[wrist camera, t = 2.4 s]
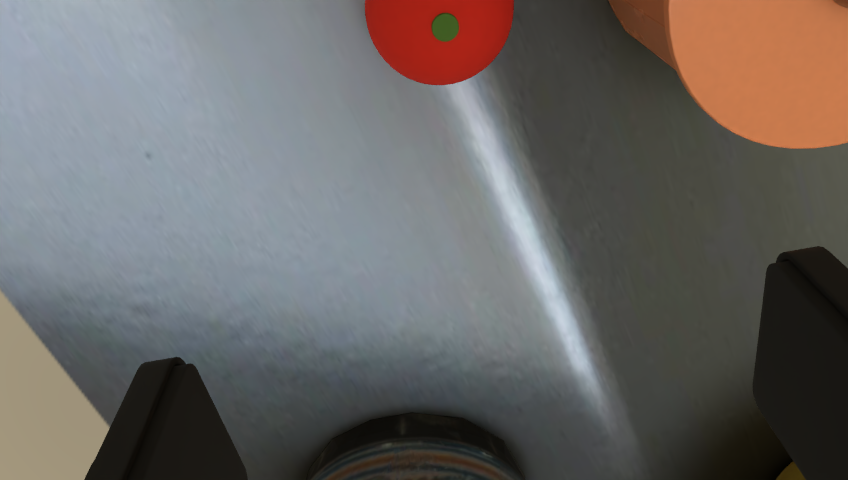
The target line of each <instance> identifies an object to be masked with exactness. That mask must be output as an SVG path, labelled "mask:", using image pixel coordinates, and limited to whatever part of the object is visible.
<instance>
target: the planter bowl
mask: <svg viewBox="0 0 848 480" xmlns="http://www.w3.org/2000/svg"><path fill="white" fill-rule="evenodd" d="M776 480H806V479H805V478H804V476H803V475H802V473H801V472H800V470H799V469H798V467H797V466H796V464H795V463H794V461H793V462H792V463H790V464H789V465H788V466H787V467H786V468H785V469H784V470H783V471H782V472H781V474H780V475H779V476H778V477H777V479H776Z"/></svg>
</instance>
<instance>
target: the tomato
mask: <svg viewBox="0 0 848 480" xmlns="http://www.w3.org/2000/svg"><path fill="white" fill-rule="evenodd" d="M513 10H514V0H365V16H366V22H367V27H368V30H369V34H370V37H371V39H372V41H373V43H374V45H375V47H376V49H377V50H378V52H379V54H380V55H381V56H382V57H383V59H384V60H385V61H386V62H387V63H388V64H389V65H390V66H391V67H392V68H393V69H395V70H396V71H397V72H399V73H400V74H402V75H403V76H405V77H407V78H409V79H411V80H414V81H416V82H420V83H424V84H430V85H447V84H453V83H457V82H461V81H464V80H466V79H468V78H471V77H472V76H474V75H476V74H478V73H479V72H480V71H482V70H483V69H484V68H486V67H487V66H488V65H489V64H490V63H491V62H492V61H493V60H494V59H495V57H496V56H497V55H498V54H499V52H500V51H501V49H502V47H503V46H504V44H505V42H506V40H507V37H508V35H509V32H510V29H511V24H512V19H513Z"/></svg>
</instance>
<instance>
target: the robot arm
mask: <svg viewBox="0 0 848 480" xmlns="http://www.w3.org/2000/svg"><path fill="white" fill-rule="evenodd" d="M753 394H754V398H755V401H756V404H757V406H758V408H759V410H760V411H761V413H762V414H763V416H764V417H765V419H766V420H767V422H768V423H769V425H770V426H771V428H772V429H773V431H774V432H775V434H776V435H777V437H778V438H779V440H780V441H781V443H782V445H783V446H784V448H785V449H786V451H787V452H788V454H789V455H790V457H791V458H792V460H793V461H794V463H795V464H796V466H797V467H798V469H799V470H800V472H801V473H802V475H803V476H804V478H805V479H806V480H848V268H847V267H845V266H844V265H843V264H842V263H841V262H840V261H839V260H838V259H837V258H836V257H835V256H833V255H832V254H831V253H830V252H829V251H828V250H827V249H825V248H824V247H819V246H817V247H811V248H806V249H800V250H794V251H788V252H783V253H781V254H780V255H779V256H778V258H777V261H776V263H773V264H770V265H769V266H768V268H767V272H766V279H765V287H764V296H763V304H762V312H761V321H760V329H759V337H758V346H757V354H756V362H755V371H754V379H753ZM85 480H248V478H247V472H246V469H245V467H244V465H243V463H242V461H241V459H240V456H239V454H238V452H237V450H236V448H235V446H234V444H233V442H232V440H231V438H230V436H229V434H228V432H227V430H226V428H225V426H224V424H223V422H222V420H221V418H220V416H219V413H218V411H217V409H216V407H215V405H214V403H213V401H212V399H211V397H210V395H209V393H208V391H207V389H206V387H205V385H204V383H203V381H202V379H201V377H200V375H199V373H198V370H197V369H196V367H195V366H194V365H193V364H185V362H184V361H183V360H182V359H181V358H180V357H174V358H168V359H162V360H156V361H151V362H145V363H143V364H141V366H140V367H139V368H138V370H137V372H136V374H135V376H134V379H133V381H132V383H131V385H130V387H129V389H128V391H127V393H126V395H125V397H124V400H123V402H122V404H121V406H120V408H119V410H118V412H117V414H116V416H115V418H114V421H113V423H112V425H111V427H110V429H109V431H108V433H107V435H106V437H105V440H104V442H103V444H102V446H101V448H100V450H99V452H98V454H97V456H96V459H95V460H94V462H93V463H92V465H91V467H90V469H89V471H88V473H87V475H86V477H85Z"/></svg>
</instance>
